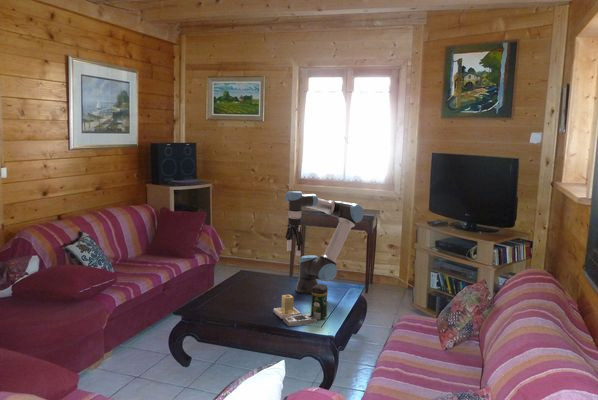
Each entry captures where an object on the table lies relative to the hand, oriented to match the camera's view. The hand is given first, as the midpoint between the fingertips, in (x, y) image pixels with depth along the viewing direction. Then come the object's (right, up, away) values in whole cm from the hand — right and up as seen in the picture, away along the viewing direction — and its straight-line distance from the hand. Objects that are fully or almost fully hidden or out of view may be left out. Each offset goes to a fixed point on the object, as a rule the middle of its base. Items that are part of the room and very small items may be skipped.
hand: (293, 253), depth 306 cm
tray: (-3, -33, -16) cm, 36 cm away
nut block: (-3, -32, -16) cm, 36 cm away
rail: (+4, -34, -27) cm, 44 cm away
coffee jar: (+14, -34, -19) cm, 41 cm away
